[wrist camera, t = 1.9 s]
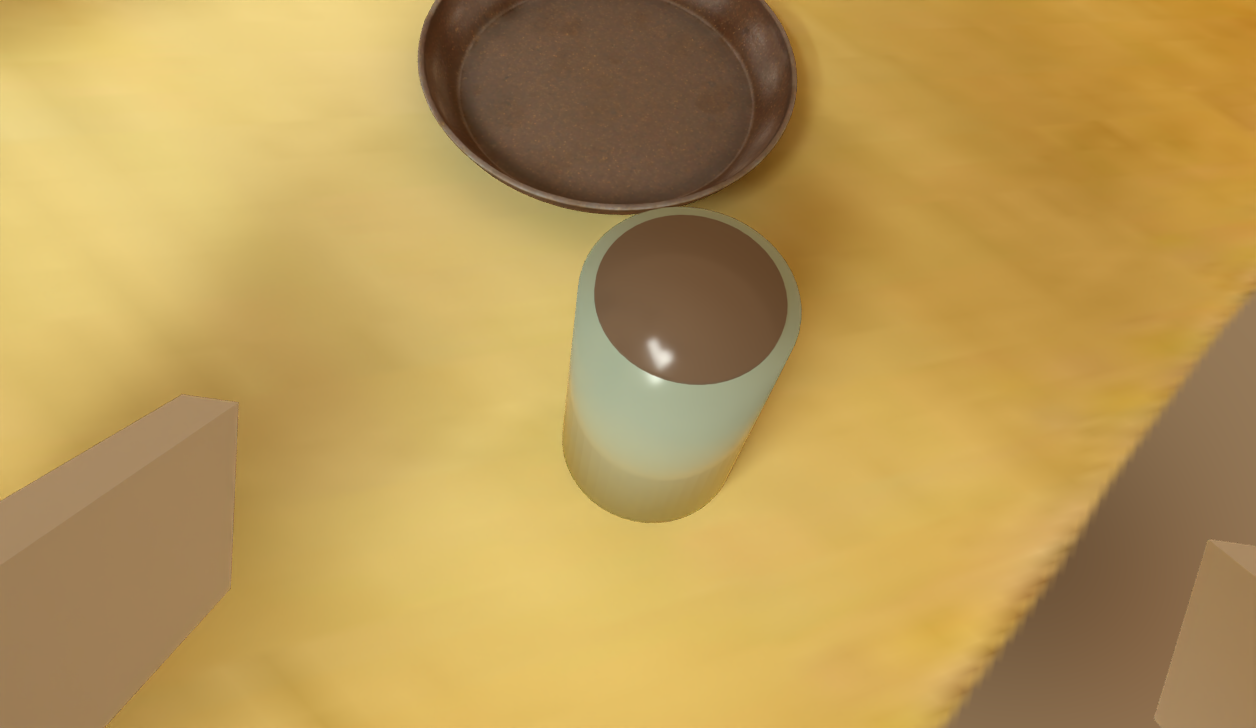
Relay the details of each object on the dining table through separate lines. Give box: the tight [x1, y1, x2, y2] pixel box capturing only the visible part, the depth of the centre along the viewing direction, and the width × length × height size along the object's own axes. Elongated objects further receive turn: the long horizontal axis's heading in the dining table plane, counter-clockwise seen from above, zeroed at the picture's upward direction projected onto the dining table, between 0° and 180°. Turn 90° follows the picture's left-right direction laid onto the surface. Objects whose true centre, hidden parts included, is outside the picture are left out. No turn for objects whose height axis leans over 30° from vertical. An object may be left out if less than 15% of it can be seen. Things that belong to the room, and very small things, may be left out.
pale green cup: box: [562, 207, 801, 523], centre depth 36 cm, size 7×7×11 cm
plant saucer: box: [418, 0, 797, 215], centre depth 48 cm, size 18×18×3 cm
